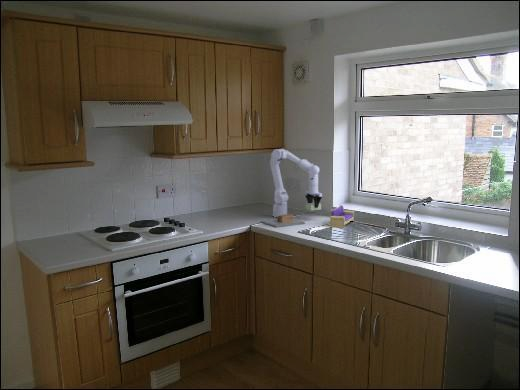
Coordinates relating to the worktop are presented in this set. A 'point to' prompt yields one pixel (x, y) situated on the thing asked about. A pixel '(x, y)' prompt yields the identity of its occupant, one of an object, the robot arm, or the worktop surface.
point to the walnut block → (285, 218)
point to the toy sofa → (340, 217)
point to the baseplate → (279, 224)
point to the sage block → (312, 206)
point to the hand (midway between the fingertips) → (313, 206)
